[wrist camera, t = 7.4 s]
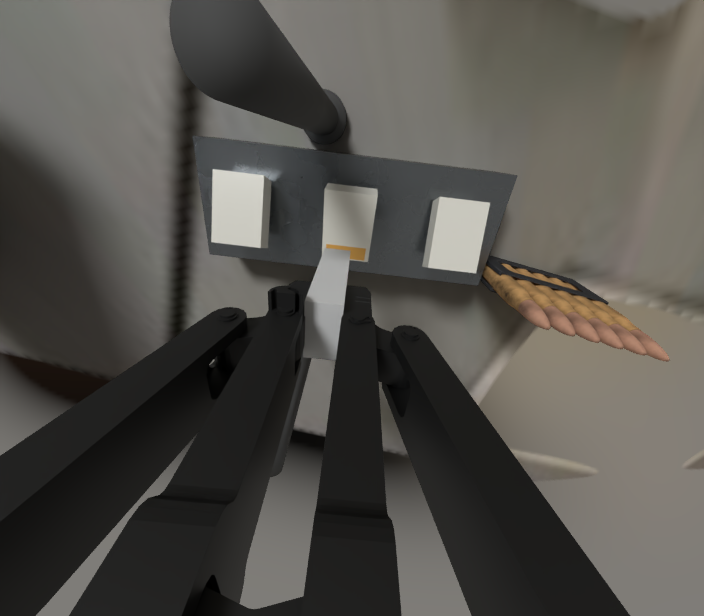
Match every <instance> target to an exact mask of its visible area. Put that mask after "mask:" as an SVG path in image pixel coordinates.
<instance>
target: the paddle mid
mask: <svg viewBox="0 0 704 616" xmlns="http://www.w3.org/2000/svg"><path fill="white" fill-rule="evenodd" d="M377 197H378V191H377V189H374V188H366V187H357V186H349V185H341V184H333V183H328V184H327V186H326V187H325V190H324V214H323V239H322V254H323V252H324V249H325V248H331V249H339V250H348V251H351V252H350V260H353V261H362V262H368V258H369V251H370V244H371V238H372V231H373V224H374V217H375V211H376V204H377Z"/></svg>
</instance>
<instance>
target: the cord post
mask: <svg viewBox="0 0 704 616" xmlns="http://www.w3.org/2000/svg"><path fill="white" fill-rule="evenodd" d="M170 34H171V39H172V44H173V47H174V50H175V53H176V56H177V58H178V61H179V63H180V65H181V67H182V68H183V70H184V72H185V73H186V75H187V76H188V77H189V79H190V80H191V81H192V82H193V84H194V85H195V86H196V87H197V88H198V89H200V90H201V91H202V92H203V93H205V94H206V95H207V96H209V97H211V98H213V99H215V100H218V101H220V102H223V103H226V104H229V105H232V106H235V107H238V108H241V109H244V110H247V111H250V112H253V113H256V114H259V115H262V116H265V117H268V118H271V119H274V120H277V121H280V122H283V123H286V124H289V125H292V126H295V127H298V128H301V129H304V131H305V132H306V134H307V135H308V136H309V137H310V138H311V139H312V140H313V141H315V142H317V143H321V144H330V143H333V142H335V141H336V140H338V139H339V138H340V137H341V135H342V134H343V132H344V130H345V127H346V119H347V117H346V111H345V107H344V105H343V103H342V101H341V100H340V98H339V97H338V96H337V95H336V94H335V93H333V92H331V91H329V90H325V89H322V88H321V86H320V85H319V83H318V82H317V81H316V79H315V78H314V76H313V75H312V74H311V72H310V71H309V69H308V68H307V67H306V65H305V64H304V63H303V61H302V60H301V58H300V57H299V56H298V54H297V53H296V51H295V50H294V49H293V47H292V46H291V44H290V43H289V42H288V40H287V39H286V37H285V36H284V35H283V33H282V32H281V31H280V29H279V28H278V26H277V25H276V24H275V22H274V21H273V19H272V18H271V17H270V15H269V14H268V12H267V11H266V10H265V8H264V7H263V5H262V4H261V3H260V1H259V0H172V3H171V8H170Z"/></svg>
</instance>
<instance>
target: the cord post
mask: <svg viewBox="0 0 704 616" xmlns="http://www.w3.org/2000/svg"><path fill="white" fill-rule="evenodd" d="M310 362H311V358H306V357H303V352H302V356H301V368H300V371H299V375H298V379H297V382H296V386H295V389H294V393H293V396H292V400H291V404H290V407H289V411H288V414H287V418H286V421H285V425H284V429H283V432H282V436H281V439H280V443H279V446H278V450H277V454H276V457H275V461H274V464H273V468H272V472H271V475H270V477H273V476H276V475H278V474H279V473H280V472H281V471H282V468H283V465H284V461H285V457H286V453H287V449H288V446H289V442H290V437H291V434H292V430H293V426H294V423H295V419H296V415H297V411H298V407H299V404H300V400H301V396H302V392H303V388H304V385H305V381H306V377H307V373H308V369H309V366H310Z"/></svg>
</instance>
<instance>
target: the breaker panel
mask: <svg viewBox="0 0 704 616" xmlns="http://www.w3.org/2000/svg"><path fill="white" fill-rule="evenodd" d="M193 142H194V149H195V156H196V163H197V170H198V176H199V183H200V190H201V197H202V204H203V211H204V218H205V225H206V232H207V238H208V245H209V252H210V254H212V255H221V256H229V257H238V258H246V259H255V260H263V261H272V262H281V263H289V264H298V265H306V266H315V267H318V265H319V262H320V260H321V257H322V239H323V214H324V190H325V187H326V186H327V184H328V183H333V184H341V185H349V186H357V187H366V188H374V189H377V191H378V197H377V204H376V211H375V217H374V224H373V231H372V238H371V244H370V251H369V258H368V262H362V261H353V260H350V261H349V271H357V272H366V273H374V274H383V275H391V276H400V277H408V278H417V279H426V280H434V281H443V282H451V283H460V284H468V285H477V286H478V284H479V282H480V279H481V276H482V273H483V270H484V268H485V265H486V262H487V259H488V256H489V254H490V251H491V248H492V245H493V242H494V240H495V237H496V234H497V231H498V229H499V226H500V223H501V220H502V217H503V215H504V212H505V209H506V206H507V203H508V201H509V198H510V195H511V192H512V190H513V187H514V184H515V181H516V178H517V175H511V174H505V173H500V172H493V171H485V170H477V169H468V168H460V167H452V166H444V165H436V164H428V163H420V162H411V161H403V160H395V159H387V158H379V157H371V156H362V155H354V154H346V153H338V152H330V151H322V150H314V149H305V148H297V147H289V146H281V145H273V144H265V143H257V142H248V141H240V140H232V139H224V138H215V137H203V136H193ZM213 169H216V170H224V171H233V172H241V173H249V174H257V175H264V176H266V177H267V178H268V179H269V180H270V181H272V183H271V201H270V219H269V237H268V248H256V247H248V246H239V245H231V244H222V243H214V242H211V234H212V177H213ZM438 197H447V198H455V199H464V200H472V201H480V202H488V203H490V207H489V211H488V216H487V221H486V226H485V231H484V236H483V241H482V246H481V251H480V256H479V261H478V266H477V271H476V273H468V272H460V271H451V270H443V269H434V268H427V267H422V265H423V259H424V252H425V246H426V240H427V234H428V228H429V222H430V216H431V210H432V203H433V201H434V200H435V199H437V198H438Z"/></svg>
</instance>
